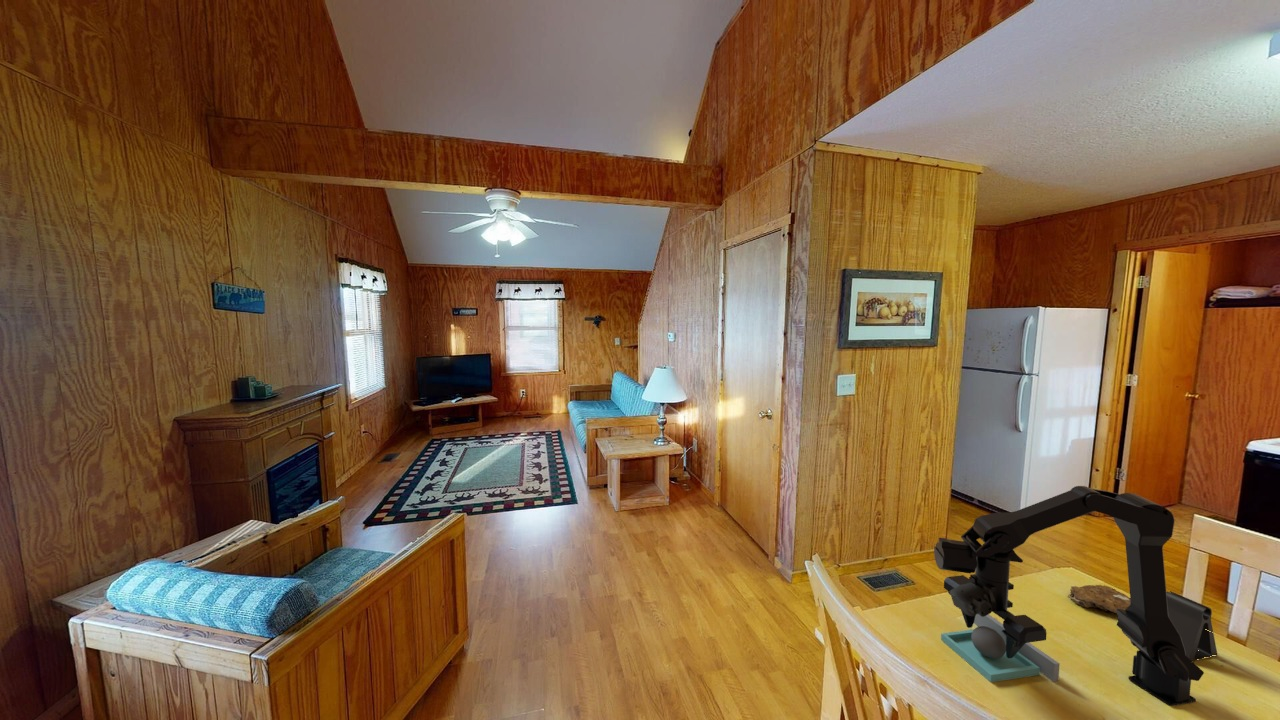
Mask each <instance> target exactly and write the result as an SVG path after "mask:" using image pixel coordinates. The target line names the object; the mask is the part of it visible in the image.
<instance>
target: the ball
mask: <svg viewBox="0 0 1280 720" xmlns="http://www.w3.org/2000/svg"><path fill="white" fill-rule="evenodd" d="M973 629H974V630H973V631H972V635H971V639H972V642H973V645H974V646H975V648H976V649H977V650H978V651H979V652H980V653H981V654H983V655H984V656H986V657H989V658H994V659H996V658H1000V657H1002V656H1003V655H1004V654H1005V652H1006V644H1005V641H1004V640H1003V638H1002V637H1001V635H1000V634H999V633H998V632H996V631H995V630H993V629H991V628H989V627H985V626H980V627H979V626H977V627H975V628H973Z"/></svg>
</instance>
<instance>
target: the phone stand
mask: <svg viewBox="0 0 1280 720" xmlns="http://www.w3.org/2000/svg"><path fill="white" fill-rule="evenodd" d="M1166 593H1167V604H1168V615H1169V618H1170V620H1171V621H1172V623H1173V624H1174V626H1175V628H1176V629H1177V631H1178V633H1179V634H1180V636H1181V639H1182V642H1183V645H1184V648H1185V651H1186V656H1187V657H1188V658H1189V659H1190V660H1191V661H1192V662H1195V661H1194V660H1197V659H1202V658H1204V657H1210V656H1212V655H1217V656H1218V650H1217V645H1216V639H1215V634H1214V629H1213V624H1212V614H1213V611H1212V609H1211V607H1208V606H1206V605H1204V604H1202V603H1199V602H1197V601H1195V600H1193V599H1190V598H1188V597H1185V596H1183V595H1180V594H1179V593H1175V592H1174V591H1172V590H1170V591H1166ZM1205 629H1207V630H1209V631H1211V632H1209V631H1207V630H1205ZM1212 632H1213V633H1212ZM1198 650H1199V651H1198ZM1202 660H1203V659H1202ZM1197 661H1198V660H1197Z"/></svg>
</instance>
